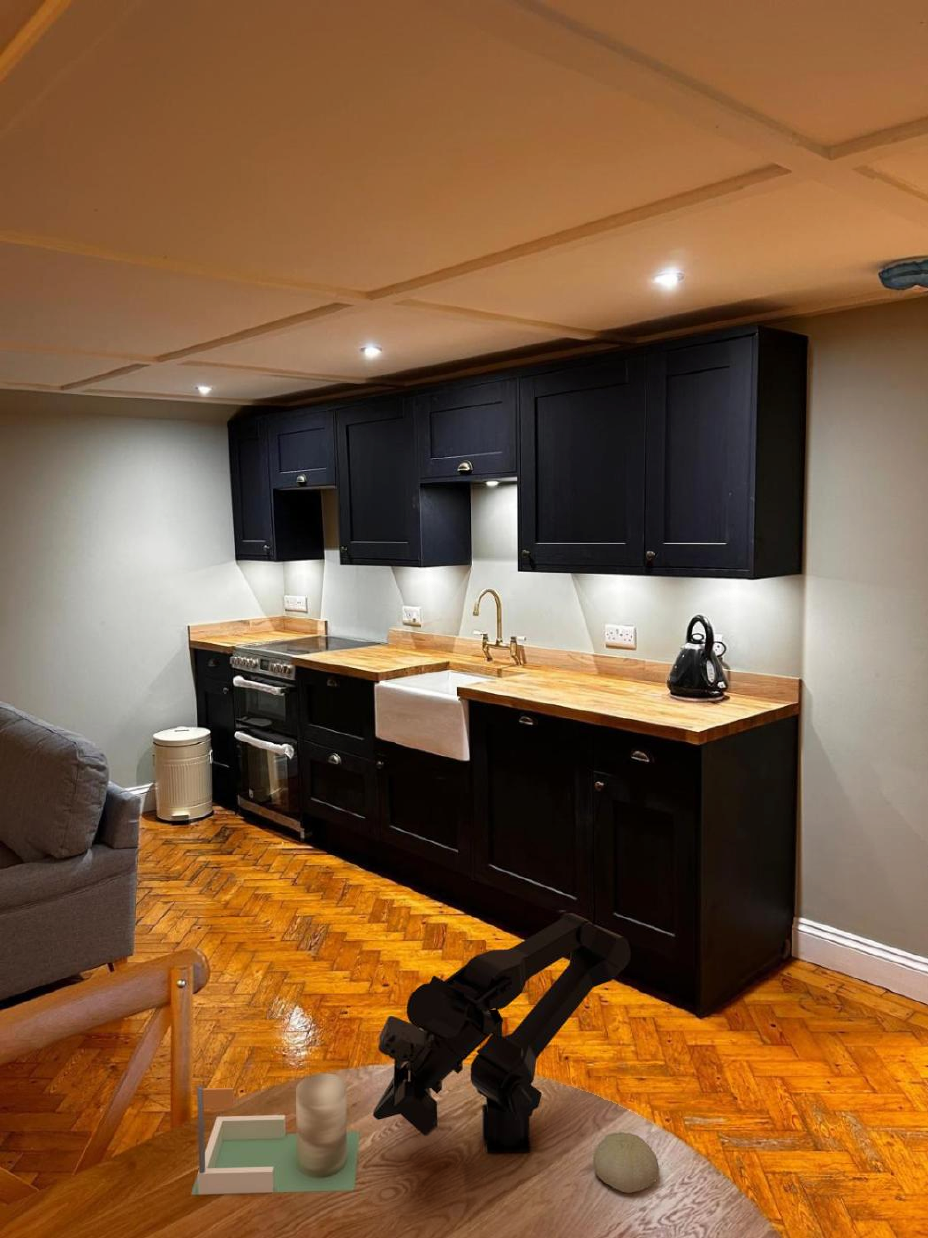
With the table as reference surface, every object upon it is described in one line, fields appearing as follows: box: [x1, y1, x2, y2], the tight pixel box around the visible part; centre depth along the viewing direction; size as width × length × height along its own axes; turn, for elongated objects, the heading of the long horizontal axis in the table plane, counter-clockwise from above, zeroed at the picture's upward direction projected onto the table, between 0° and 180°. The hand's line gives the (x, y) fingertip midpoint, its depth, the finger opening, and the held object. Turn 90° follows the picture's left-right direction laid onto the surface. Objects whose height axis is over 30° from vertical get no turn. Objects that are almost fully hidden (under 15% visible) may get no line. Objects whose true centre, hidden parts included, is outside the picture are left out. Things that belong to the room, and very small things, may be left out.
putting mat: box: [190, 1131, 361, 1196], centre depth 132 cm, size 22×12×1 cm, turn 93°
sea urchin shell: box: [592, 1131, 660, 1194], centre depth 131 cm, size 9×8×8 cm
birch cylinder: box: [295, 1073, 348, 1178], centre depth 131 cm, size 7×7×11 cm
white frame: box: [196, 1085, 287, 1195], centre depth 130 cm, size 10×12×15 cm
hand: (375, 1116), depth 131 cm, fingers closed
